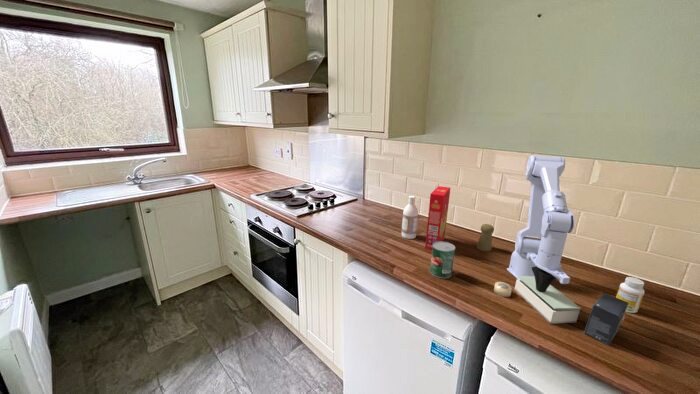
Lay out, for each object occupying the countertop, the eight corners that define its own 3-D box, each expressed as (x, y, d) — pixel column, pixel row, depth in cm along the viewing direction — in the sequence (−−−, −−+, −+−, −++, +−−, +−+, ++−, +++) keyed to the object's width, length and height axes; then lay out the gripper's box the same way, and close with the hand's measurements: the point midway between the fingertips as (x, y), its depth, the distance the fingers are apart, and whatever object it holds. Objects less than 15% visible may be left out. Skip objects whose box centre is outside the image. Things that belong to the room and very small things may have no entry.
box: (609, 346, 73) (620, 316, 70) (583, 333, 77) (592, 304, 74) (619, 331, 78) (629, 302, 75) (594, 319, 83) (602, 291, 80)
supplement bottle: (625, 301, 90) (634, 275, 88) (642, 313, 85) (653, 285, 82) (609, 302, 90) (617, 275, 87) (625, 313, 85) (635, 285, 82)
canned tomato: (425, 271, 106) (428, 245, 103) (437, 264, 111) (440, 239, 108) (444, 281, 100) (447, 253, 97) (456, 273, 105) (459, 246, 102)
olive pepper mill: (473, 246, 126) (477, 223, 123) (482, 244, 129) (486, 221, 126) (485, 252, 121) (489, 228, 118) (494, 249, 124) (498, 226, 120)
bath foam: (398, 234, 137) (401, 195, 131) (410, 232, 140) (413, 193, 134) (407, 240, 131) (410, 199, 125) (419, 237, 134) (422, 197, 128)
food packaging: (437, 251, 122) (443, 195, 114) (425, 248, 124) (430, 193, 117) (444, 238, 134) (450, 187, 127) (433, 236, 136) (438, 186, 129)
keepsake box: (514, 289, 96) (516, 279, 95) (536, 288, 96) (539, 278, 95) (550, 323, 81) (553, 311, 79) (576, 322, 81) (579, 310, 80)
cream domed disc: (490, 288, 97) (491, 281, 96) (504, 287, 97) (505, 281, 96) (499, 297, 92) (500, 290, 91) (513, 296, 92) (515, 290, 92)
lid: (517, 277, 94) (518, 275, 94) (539, 277, 95) (540, 276, 95) (554, 309, 79) (555, 307, 79) (580, 309, 80) (581, 308, 80)
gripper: (584, 263, 76) (572, 305, 80) (544, 239, 90) (536, 276, 94) (560, 264, 76) (549, 306, 80) (523, 240, 89) (516, 277, 93)
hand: (540, 290), depth 87 cm, fingers closed, pressing on lid
